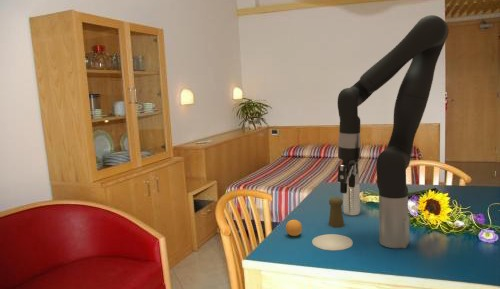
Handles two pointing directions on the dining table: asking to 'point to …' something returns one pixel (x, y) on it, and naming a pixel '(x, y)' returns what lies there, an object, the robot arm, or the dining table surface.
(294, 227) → the ball
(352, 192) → the water bottle
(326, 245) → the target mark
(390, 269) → the dining table surface
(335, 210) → the brown rounded upright piece
